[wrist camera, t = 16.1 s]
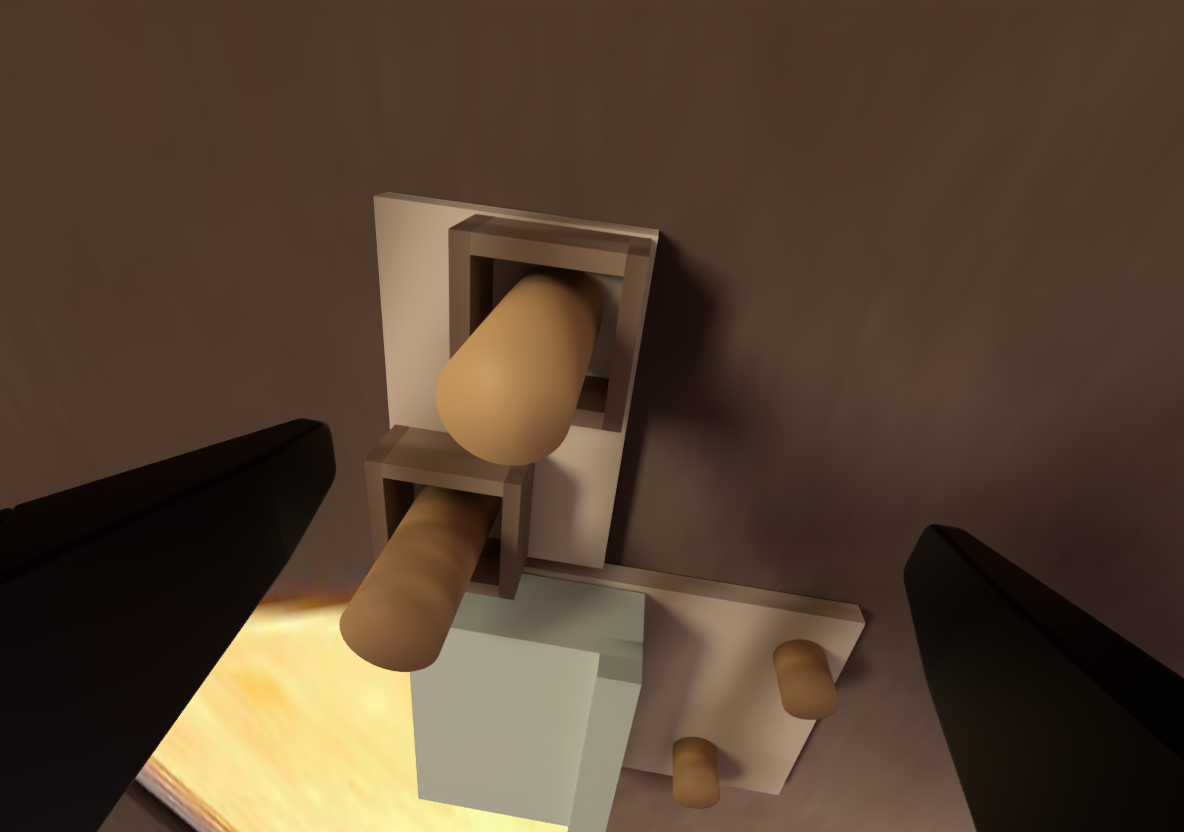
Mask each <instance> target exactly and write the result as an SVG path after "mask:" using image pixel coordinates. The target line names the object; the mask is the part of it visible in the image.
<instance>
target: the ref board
mask: <svg viewBox="0 0 1184 832" xmlns="http://www.w3.org/2000/svg"><path fill="white" fill-rule="evenodd" d="M522 573H523V574H529V575H535V576H541V577H547V578H553V579H559V580H565V581H571V582H577V583H583V584H589V585H595V586H601V587H607V588H613V589H619V590H625V591H631V592H637V593H643V594H645V605H644V632H643V659H642V685H641V689H640V693H639V697H638V701H637V705H636V709H635V713H634V717H633V721H632V726H631V730H630V734H629V738H628V742H627V746H626V750H625V754H624V758H623V762H622V766H621V767H626V768H631V769H637V770H642V771H648V772H653V773H659V774H665V775H670V776H673V797H674V799H675V800H676V801H677V802H678V803H680V804H681V805H683V806H686V807H689V808H695V809H704V808H709V807H712V806H714V805H716V804H717V803H718V802H719V800H720V791H719V784H720V785H725V786H731V787H737V788H742V789H748V790H753V791H759V792H764V793H770V794H775V795H779V793H780V791H781V789H782V787H783V785H784V783H785V781H786V779H787V777H788V775H789V773H790V771H791V769H792V767H793V765H794V763H795V761H796V759H797V757H798V755H799V753H800V751H801V749H802V747H803V745H804V744H805V742H806V740H807V738H808V736H809V734H810V732H811V730H812V728H813V726H814V724H815V722H816V720H817V719H822V718H825V717H827V716H829V715H831V714H833V713H834V712H835V711H836V710H837V708H838V706H839V698H838V695H837V691H836V688H835V683H836V681H837V679H838V677H839V675H840V673H841V671H842V669H843V667H844V665H845V663H846V661H847V659H848V657H849V655H850V653H851V651H852V649H853V647H854V645H855V644H856V642H857V640H858V638H859V636H860V634H861V632H862V630H863V628H864V626H865V624H866V623H865V621H864V618H863V616H862V613H861V611H860V608H859V605H855V604H849V603H843V602H837V601H831V600H825V599H819V598H813V597H807V596H801V595H795V594H789V593H783V592H777V591H771V590H765V589H758V588H752V587H746V586H740V585H734V584H728V583H722V582H716V581H710V580H704V579H698V578H692V577H686V576H680V575H674V574H668V573H662V572H656V571H650V570H644V569H638V568H632V567H625V566H619V565H613V564H607V563H604V565H603V569H600V568H594V567H587V566H581V565H575V564H569V563H563V562H557V561H551V560H545V559H539V558H533V557H527V559H526V562H525V565H524V569H523V572H522Z"/></svg>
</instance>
